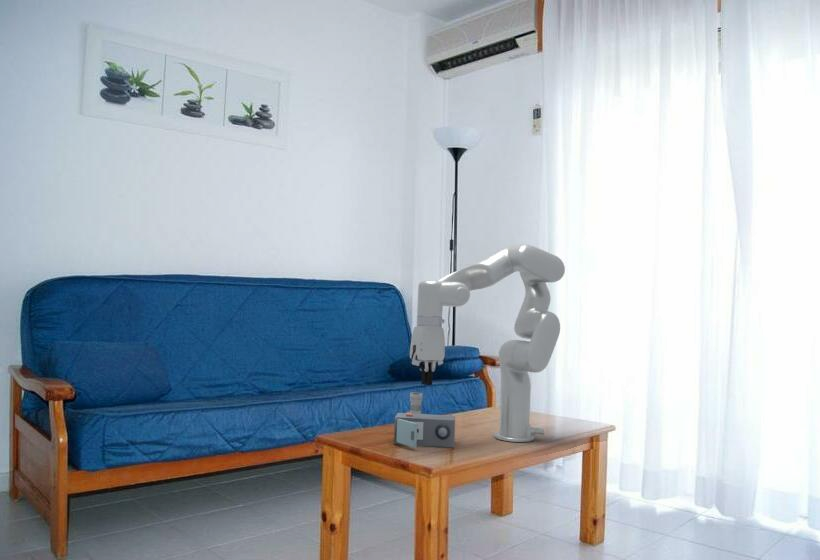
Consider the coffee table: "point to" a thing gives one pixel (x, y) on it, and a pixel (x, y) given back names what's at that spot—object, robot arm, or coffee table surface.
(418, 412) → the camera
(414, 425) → the side door
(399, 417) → the housing
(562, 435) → the coffee table surface
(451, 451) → the coffee table surface
